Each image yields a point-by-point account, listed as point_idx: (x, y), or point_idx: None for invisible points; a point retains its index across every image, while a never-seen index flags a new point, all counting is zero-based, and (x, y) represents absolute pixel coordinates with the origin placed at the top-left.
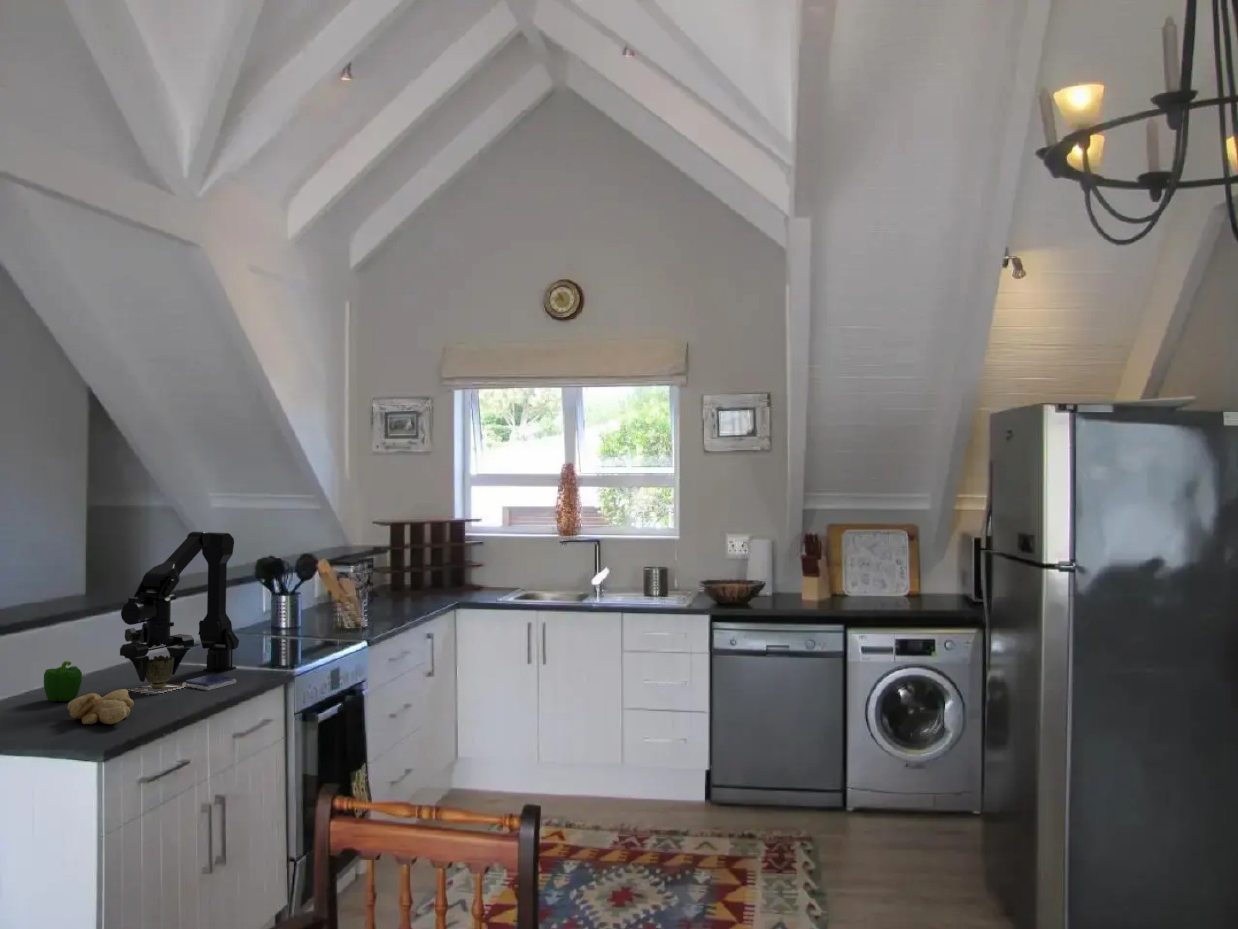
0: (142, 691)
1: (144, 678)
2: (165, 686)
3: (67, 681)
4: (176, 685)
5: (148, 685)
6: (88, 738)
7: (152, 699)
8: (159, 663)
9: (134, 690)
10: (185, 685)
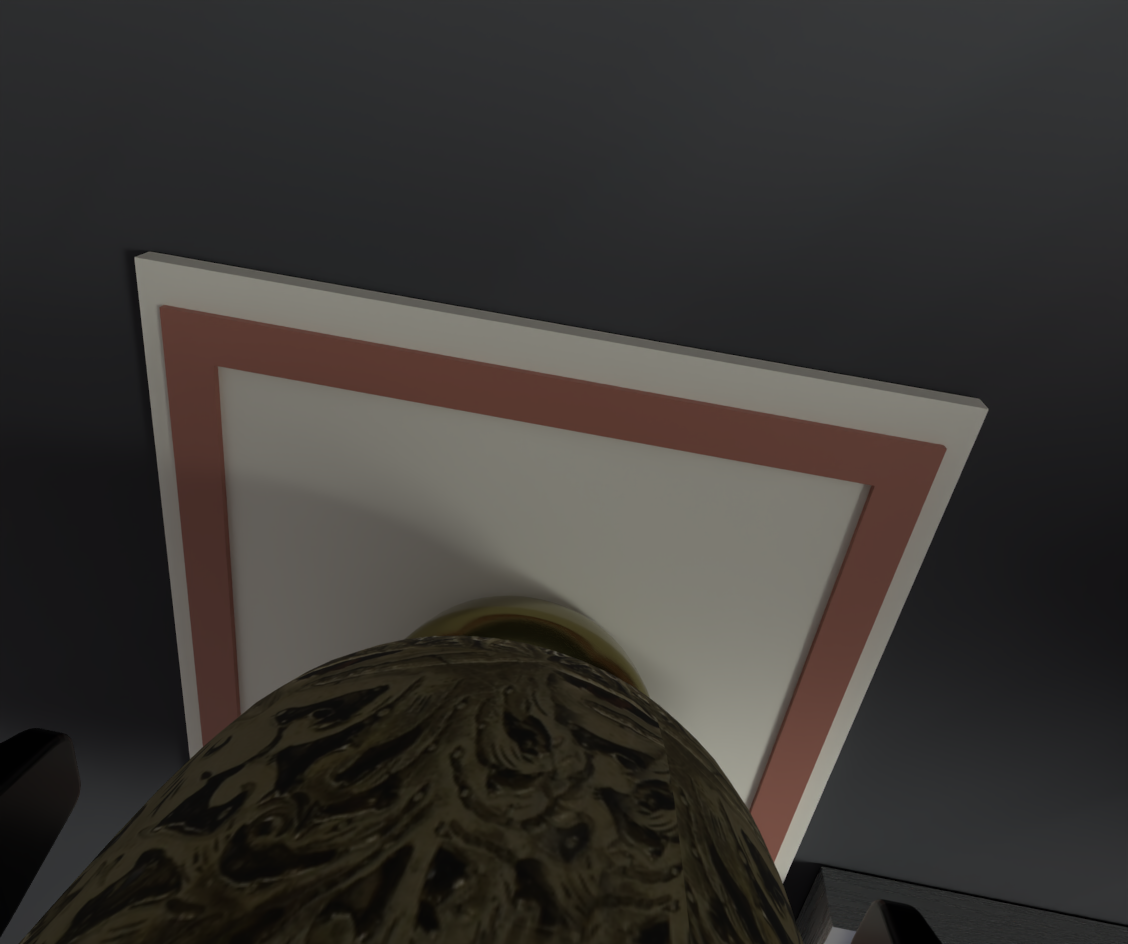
0: (190, 617)
1: (9, 878)
2: (678, 711)
3: None
4: (775, 834)
5: (614, 408)
6: None
7: (72, 879)
8: None
9: (173, 428)
10: (806, 934)
